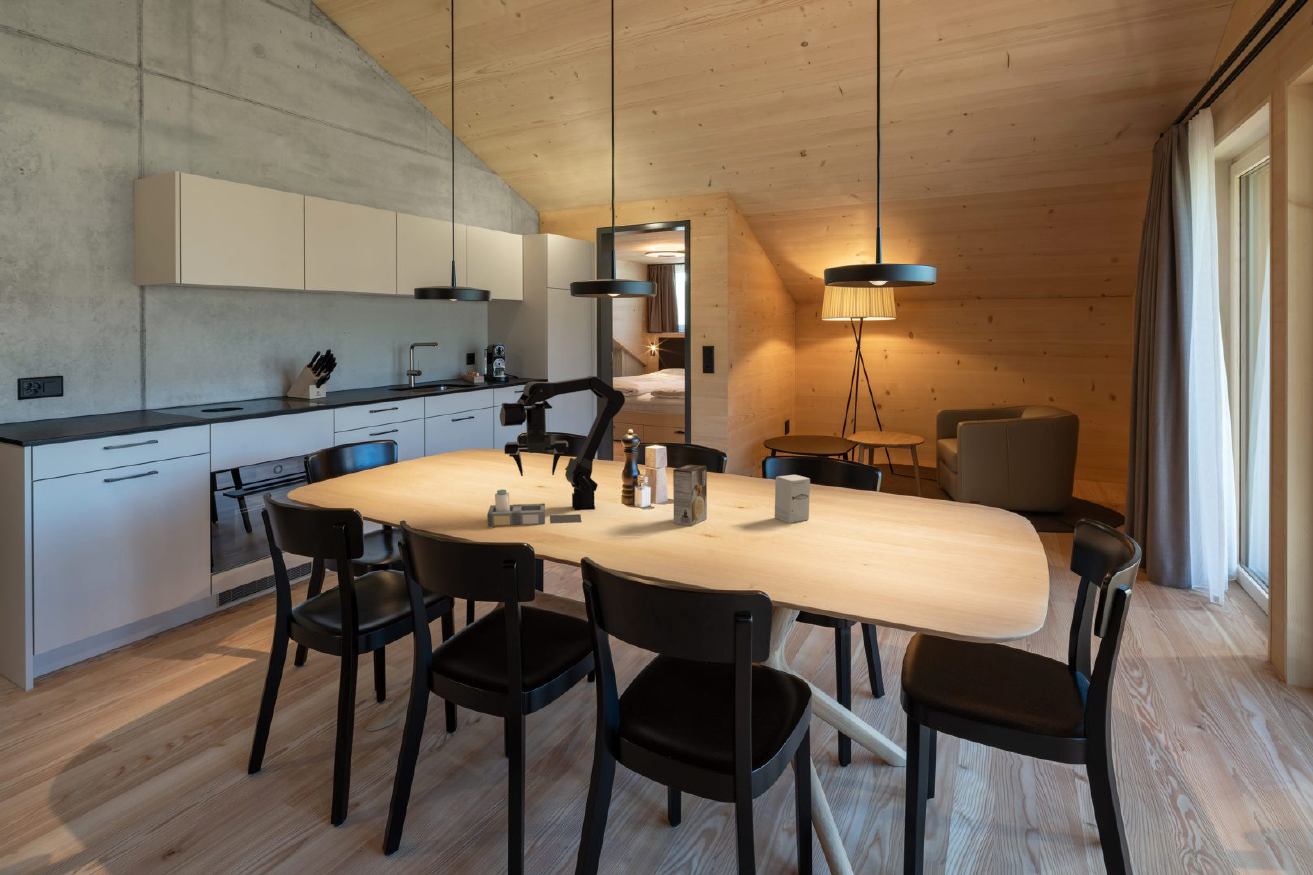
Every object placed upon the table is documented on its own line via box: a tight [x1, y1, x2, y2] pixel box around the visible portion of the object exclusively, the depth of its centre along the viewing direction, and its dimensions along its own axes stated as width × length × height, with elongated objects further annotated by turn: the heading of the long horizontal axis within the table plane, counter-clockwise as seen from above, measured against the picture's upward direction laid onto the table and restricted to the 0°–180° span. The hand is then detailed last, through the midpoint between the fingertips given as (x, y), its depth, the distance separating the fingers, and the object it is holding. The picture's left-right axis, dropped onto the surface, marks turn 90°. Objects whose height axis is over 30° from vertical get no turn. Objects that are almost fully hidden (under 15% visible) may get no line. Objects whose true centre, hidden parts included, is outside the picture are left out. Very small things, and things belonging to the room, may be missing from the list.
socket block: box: [486, 503, 546, 529], centre depth 215 cm, size 16×10×4 cm, turn 98°
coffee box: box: [672, 464, 708, 527], centre depth 214 cm, size 9×6×16 cm
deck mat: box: [549, 513, 582, 524], centre depth 217 cm, size 9×9×1 cm
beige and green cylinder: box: [494, 489, 511, 512], centre depth 214 cm, size 4×4×9 cm
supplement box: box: [774, 474, 811, 524], centre depth 216 cm, size 7×7×13 cm
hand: (537, 475), depth 222 cm, fingers open, 9 cm apart
